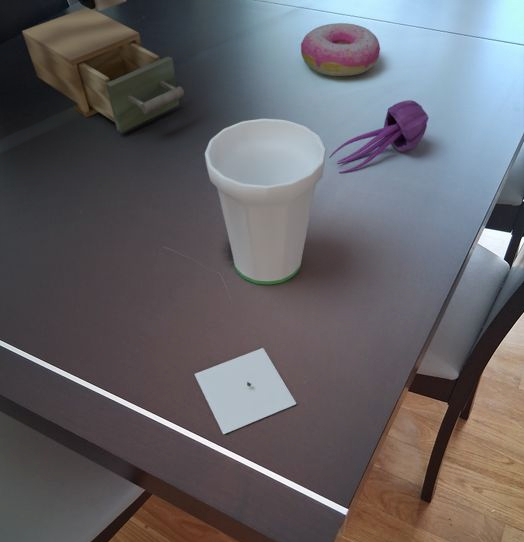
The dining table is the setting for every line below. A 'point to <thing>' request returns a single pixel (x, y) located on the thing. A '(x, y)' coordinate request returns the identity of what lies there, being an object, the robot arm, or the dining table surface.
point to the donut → (340, 49)
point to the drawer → (129, 84)
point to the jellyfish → (392, 132)
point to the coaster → (244, 390)
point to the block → (106, 3)
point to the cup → (266, 193)
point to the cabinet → (74, 49)
